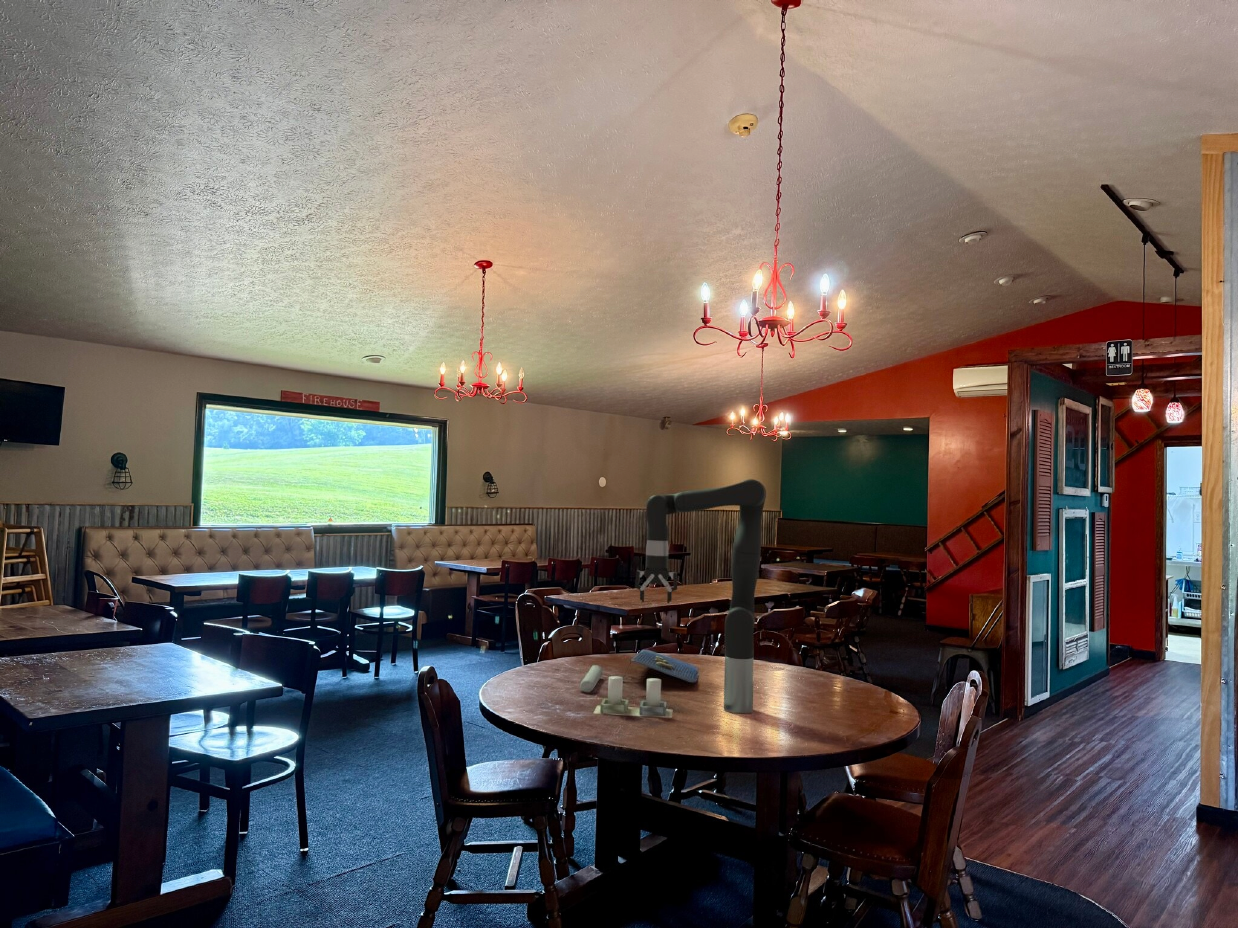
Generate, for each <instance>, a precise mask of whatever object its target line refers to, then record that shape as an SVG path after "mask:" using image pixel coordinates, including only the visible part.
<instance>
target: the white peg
mask: <svg viewBox="0 0 1238 928" xmlns="http://www.w3.org/2000/svg"><path fill="white" fill-rule="evenodd" d="M623 681H624V679H623V677H622V676H617V675H614V676H612V675H611V676H608V684H607V685H608V686H607V687H608V689H607V693H608V694H607V699H608V704H611V705H622V700H623V683H624V682H623Z"/></svg>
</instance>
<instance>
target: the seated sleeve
mask: <svg viewBox="0 0 1238 928" xmlns="http://www.w3.org/2000/svg"><path fill="white" fill-rule="evenodd" d="M661 690H662V679H660V678H657V677H656V678H652V677H651V678H650V677H649V678H647V679H646V692H645V693H646V697H645V698H646V699H645V701H646V706H647V707H661V706H660V702H661V696H662V694H661V693H662V691H661Z"/></svg>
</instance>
